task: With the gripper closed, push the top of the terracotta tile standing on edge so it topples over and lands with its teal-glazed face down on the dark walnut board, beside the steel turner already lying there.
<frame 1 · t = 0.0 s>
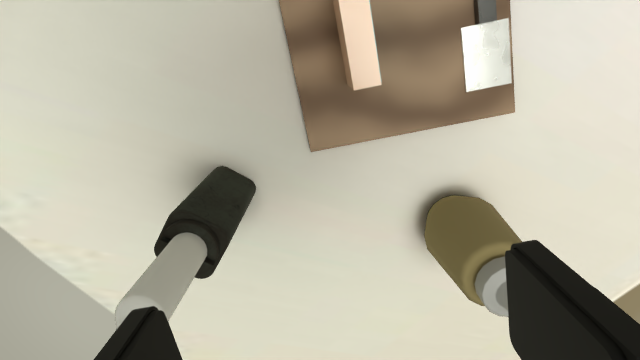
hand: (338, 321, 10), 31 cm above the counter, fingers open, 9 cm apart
tile: (351, 39, 36), point 1 cm above the counter, touching board
turner: (482, 0, 35), resting on board
squeeze bottle: (451, 218, 43), on the counter
board: (395, 30, 37), on the counter
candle: (229, 191, 42), on the counter
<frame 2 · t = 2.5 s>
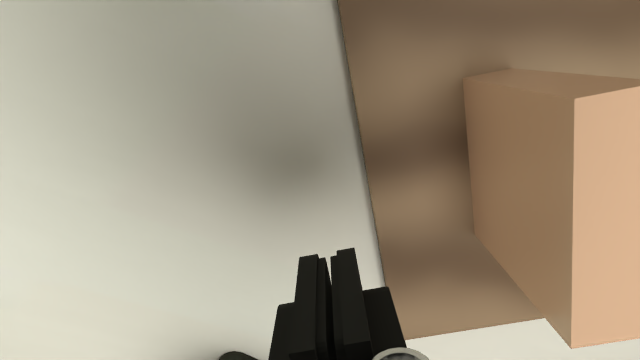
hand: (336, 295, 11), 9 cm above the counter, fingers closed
tile: (491, 157, 18), point 1 cm above the counter, touching board
board: (571, 134, 19), on the counter
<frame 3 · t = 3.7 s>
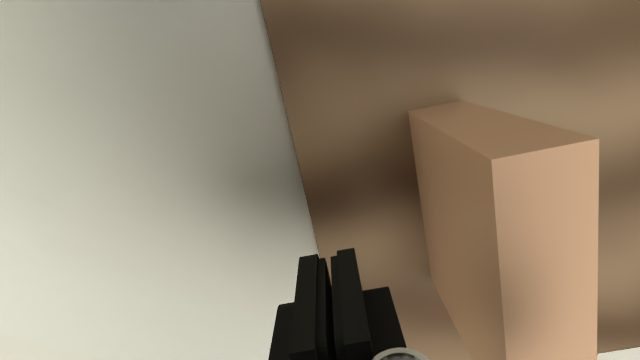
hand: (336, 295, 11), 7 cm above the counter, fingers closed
tile: (445, 196, 17), point 1 cm above the counter, touching board
board: (534, 168, 18), on the counter
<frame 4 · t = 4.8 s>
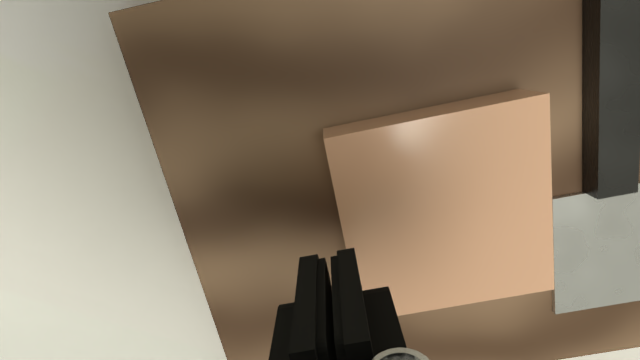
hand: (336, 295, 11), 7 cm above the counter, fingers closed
tile: (342, 226, 16), point 2 cm above the counter, tilted 90°, touching board
turner: (601, 143, 16), resting on board
board: (409, 192, 18), on the counter
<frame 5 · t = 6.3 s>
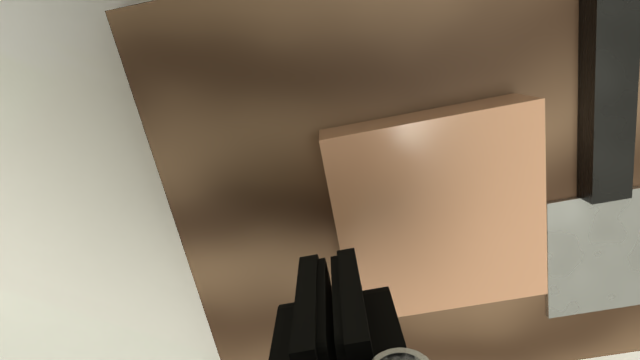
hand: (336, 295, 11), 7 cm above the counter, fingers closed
tile: (336, 227, 16), point 2 cm above the counter, tilted 90°, touching board
turner: (596, 149, 16), resting on board
board: (404, 194, 18), on the counter
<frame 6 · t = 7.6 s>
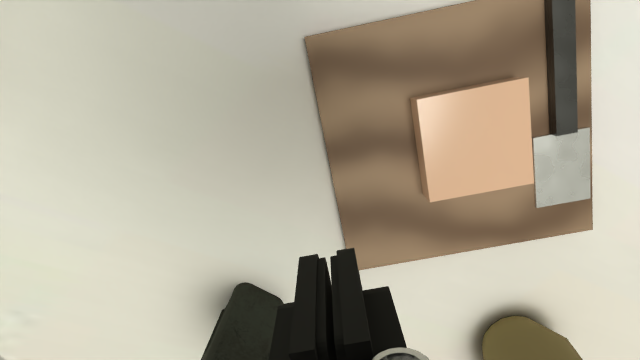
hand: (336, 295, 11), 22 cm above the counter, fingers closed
tile: (419, 150, 30), point 2 cm above the counter, tilted 90°, touching board
turner: (558, 107, 30), resting on board
squeeze bottle: (510, 339, 37), on the counter
board: (452, 137, 32), on the counter
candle: (252, 309, 37), on the counter
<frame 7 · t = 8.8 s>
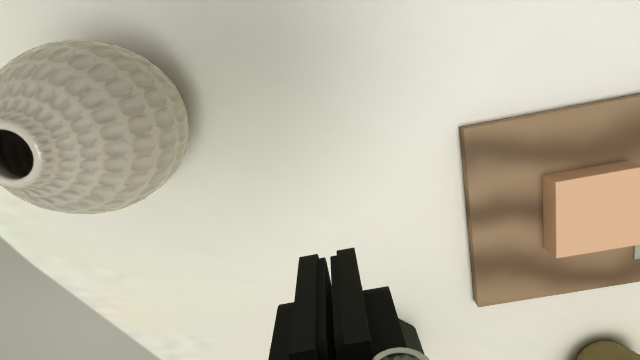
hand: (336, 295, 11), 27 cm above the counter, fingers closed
tile: (549, 217, 37), point 2 cm above the counter, tilted 90°, touching board
vase: (143, 114, 37), on the counter
squeeze bottle: (597, 358, 45), on the counter
board: (569, 202, 39), on the counter
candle: (389, 334, 44), on the counter
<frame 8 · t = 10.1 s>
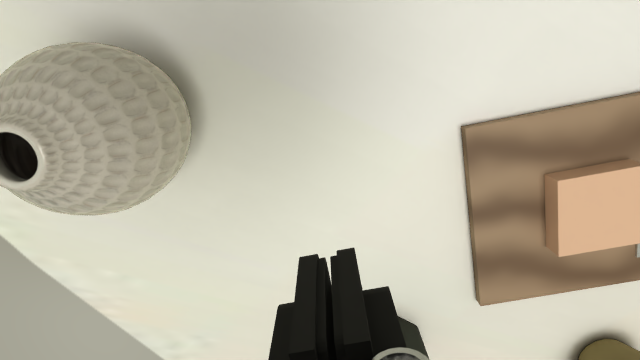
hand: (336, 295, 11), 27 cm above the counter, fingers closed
tile: (551, 215, 37), point 2 cm above the counter, tilted 90°, touching board
vase: (145, 115, 37), on the counter
squeeze bottle: (600, 356, 45), on the counter
board: (571, 201, 39), on the counter
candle: (391, 334, 45), on the counter
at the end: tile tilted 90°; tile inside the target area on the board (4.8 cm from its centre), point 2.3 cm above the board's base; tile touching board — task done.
